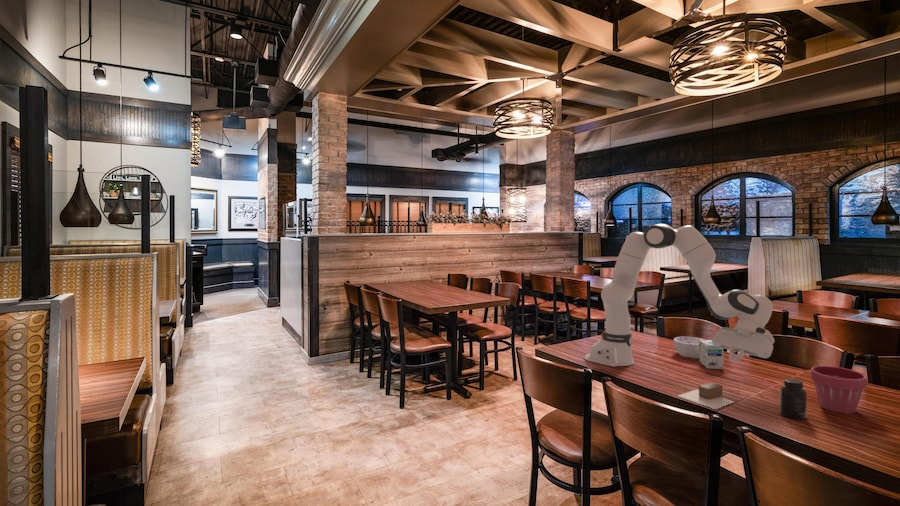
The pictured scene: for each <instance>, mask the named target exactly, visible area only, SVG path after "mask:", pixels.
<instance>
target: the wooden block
mask: <svg viewBox="0 0 900 506" xmlns="http://www.w3.org/2000/svg"><path fill="white" fill-rule="evenodd" d="M698 390H699V396H701V397H703V398H706V399H712V398H716V397H723V393H724V392H723V390H724V389H723V385H721V384H718V383H715V382H711V383H710V382H709V383H706V384H702V385H701V384H700V385H699V386H698Z"/></svg>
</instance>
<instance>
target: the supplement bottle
mask: <svg viewBox="0 0 900 506" xmlns="http://www.w3.org/2000/svg"><path fill="white" fill-rule="evenodd" d="M783 381H784V383H783V385H784V386H782V387H780V391H779V393H780V395H779V403H780V404H779V412H780V414H781V415H782V416H784V417H785V418H787V417H788V419H791V420H796V419H797V421H802V420H805V419H806V418H807V400H808V399H807V397H808V396H807V391H805V390H804V382H803V381H802V380H800V379H796V378H784V379H783Z"/></svg>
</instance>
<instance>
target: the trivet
mask: <svg viewBox="0 0 900 506" xmlns="http://www.w3.org/2000/svg"><path fill="white" fill-rule="evenodd" d="M676 397H677V398H680V399H683V400H686V401H689V402H692V403H694V404H697V405H700V406H703V405H704V406H703V407H705V406H707V407H706V408H708V407H710V408H709V409H711V408H712V410H714V409H717V410H719V409H718V408H720V409H722V408H724V407H723V406H725V407H727V406H726V405H728V404H730V405H732V404H731V403H733V404H735V403H734V402H735V401H734V400H730V399H727V398H724V397H723V396H720V397H716V398H712V399H706V398H703V397H701V396H699V389H694V390H691V391H688V392H684V393H682V394H678V395H677V396H676ZM728 406H729V405H728ZM721 407H722V408H721Z"/></svg>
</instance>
